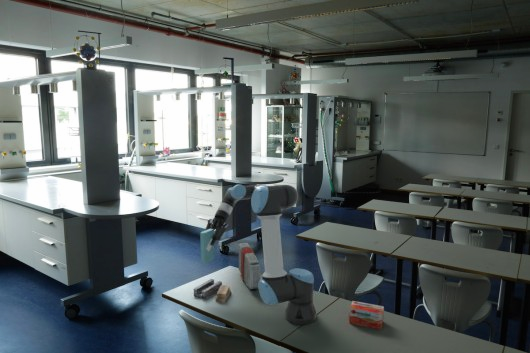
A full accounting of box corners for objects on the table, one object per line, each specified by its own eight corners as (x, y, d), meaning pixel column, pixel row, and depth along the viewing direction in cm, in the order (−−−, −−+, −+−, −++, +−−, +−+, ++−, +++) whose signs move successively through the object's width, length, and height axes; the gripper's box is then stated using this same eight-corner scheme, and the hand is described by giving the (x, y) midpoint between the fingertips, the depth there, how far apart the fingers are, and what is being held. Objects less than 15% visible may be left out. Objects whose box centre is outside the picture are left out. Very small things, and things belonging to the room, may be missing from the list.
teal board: (214, 259, 220) (213, 229, 217) (204, 264, 213) (203, 233, 210) (210, 258, 221) (209, 228, 218) (200, 263, 214) (200, 232, 211)
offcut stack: (231, 293, 219) (231, 285, 218) (224, 302, 208) (224, 294, 208) (221, 292, 220) (221, 284, 219) (214, 301, 210) (214, 293, 209)
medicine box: (383, 321, 191) (384, 305, 190) (381, 330, 184) (382, 314, 182) (351, 315, 196) (352, 300, 195) (348, 323, 189) (349, 307, 188)
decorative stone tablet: (237, 242, 241) (251, 264, 213) (248, 241, 243) (262, 263, 215) (237, 271, 246) (250, 297, 218) (247, 270, 247) (261, 295, 220)
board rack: (222, 288, 224) (221, 281, 223) (204, 299, 212) (204, 292, 211) (211, 285, 228) (211, 278, 227) (193, 295, 215) (193, 288, 215)
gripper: (237, 218, 224) (219, 255, 213) (215, 214, 232) (197, 250, 221) (232, 210, 219) (213, 249, 207) (209, 207, 227) (190, 243, 215)
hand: (205, 249), depth 214 cm, fingers closed on teal board, 2 cm apart
